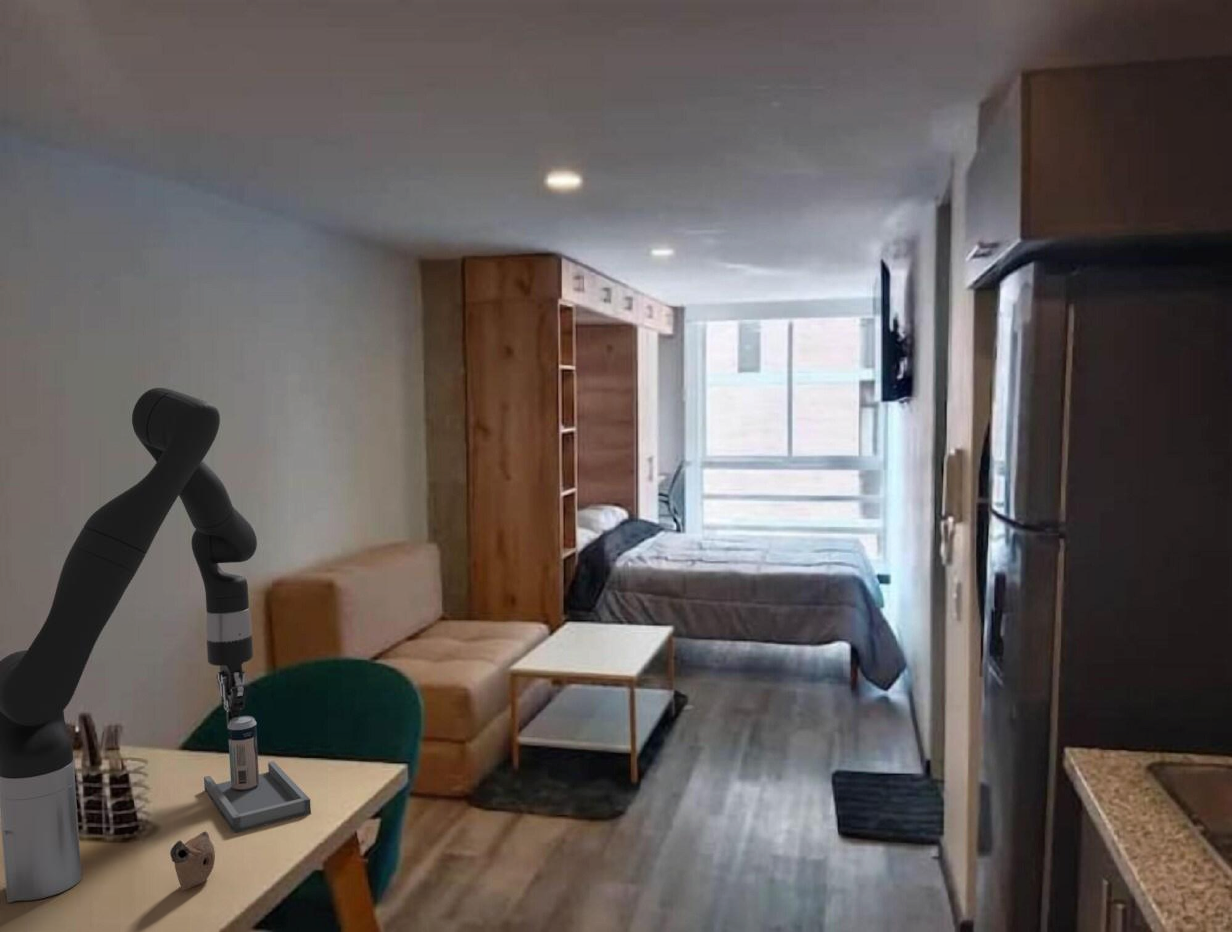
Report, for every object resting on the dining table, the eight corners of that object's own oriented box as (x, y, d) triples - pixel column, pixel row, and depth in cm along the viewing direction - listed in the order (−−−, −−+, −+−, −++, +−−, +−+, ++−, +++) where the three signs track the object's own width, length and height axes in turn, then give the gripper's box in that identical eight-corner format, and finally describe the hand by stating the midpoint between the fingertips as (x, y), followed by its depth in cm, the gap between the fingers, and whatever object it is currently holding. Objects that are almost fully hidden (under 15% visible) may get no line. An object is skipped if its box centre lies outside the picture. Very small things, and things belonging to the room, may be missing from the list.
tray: (234, 833, 155) (233, 818, 155) (204, 790, 173) (203, 776, 173) (310, 813, 162) (310, 799, 161) (274, 773, 180) (273, 761, 180)
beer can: (265, 784, 173) (262, 717, 172) (242, 794, 169) (238, 725, 168) (248, 779, 176) (244, 713, 175) (225, 788, 172) (221, 721, 171)
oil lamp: (188, 904, 133) (185, 846, 132) (160, 903, 133) (157, 846, 133) (223, 872, 142) (219, 818, 141) (196, 872, 142) (193, 818, 142)
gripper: (261, 638, 172) (266, 735, 173) (241, 625, 182) (246, 717, 184) (215, 645, 167) (221, 745, 168) (198, 631, 178) (204, 725, 179)
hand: (234, 730), depth 176 cm, fingers closed
